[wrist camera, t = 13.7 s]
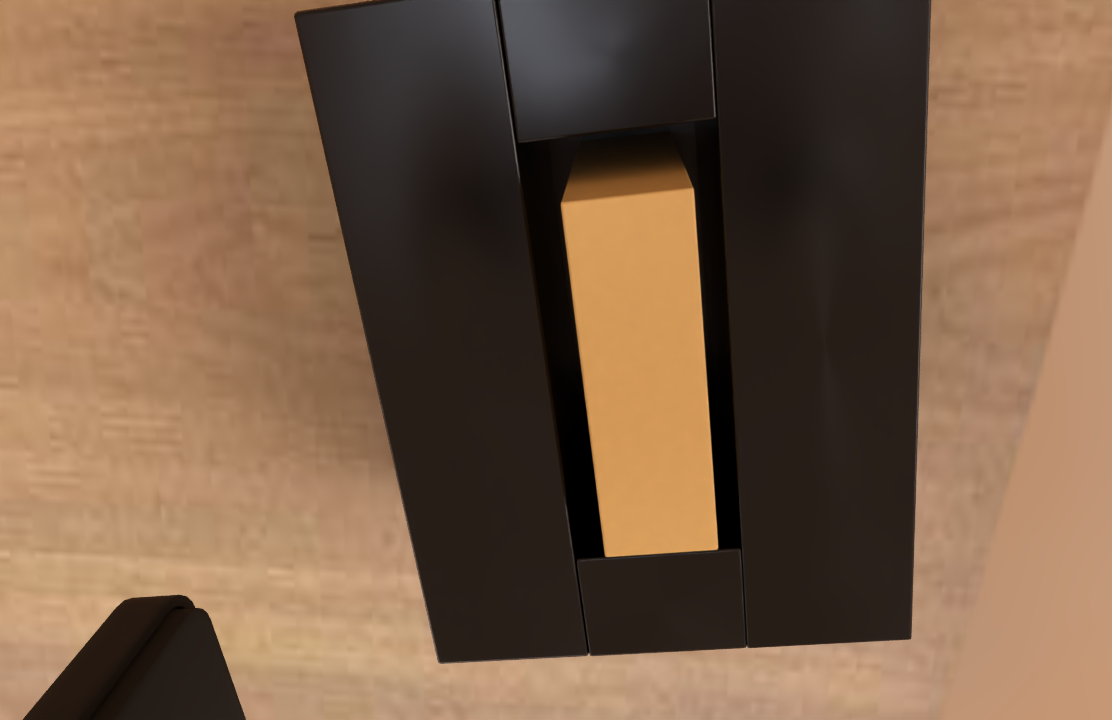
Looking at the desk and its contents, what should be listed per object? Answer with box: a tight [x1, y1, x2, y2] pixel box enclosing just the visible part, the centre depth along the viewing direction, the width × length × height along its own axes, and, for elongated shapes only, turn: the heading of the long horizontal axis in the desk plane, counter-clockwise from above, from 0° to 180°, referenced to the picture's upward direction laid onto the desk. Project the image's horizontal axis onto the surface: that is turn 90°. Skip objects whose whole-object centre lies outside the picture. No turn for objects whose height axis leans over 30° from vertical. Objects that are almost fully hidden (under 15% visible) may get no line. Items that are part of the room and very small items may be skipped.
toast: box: [561, 131, 718, 557], centre depth 21 cm, size 2×8×8 cm, turn 7°
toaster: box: [294, 0, 931, 664], centre depth 23 cm, size 12×16×8 cm
